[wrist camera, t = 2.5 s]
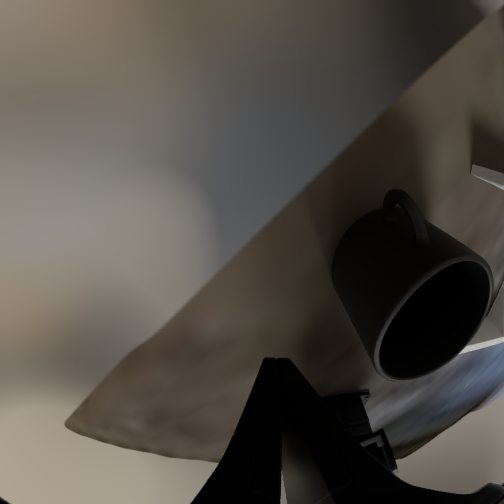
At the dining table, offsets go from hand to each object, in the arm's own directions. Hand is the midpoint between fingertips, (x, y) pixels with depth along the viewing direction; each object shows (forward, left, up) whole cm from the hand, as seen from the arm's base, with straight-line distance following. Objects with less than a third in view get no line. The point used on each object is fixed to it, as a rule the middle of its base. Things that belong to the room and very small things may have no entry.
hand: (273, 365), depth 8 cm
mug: (0, -10, -12) cm, 16 cm away
